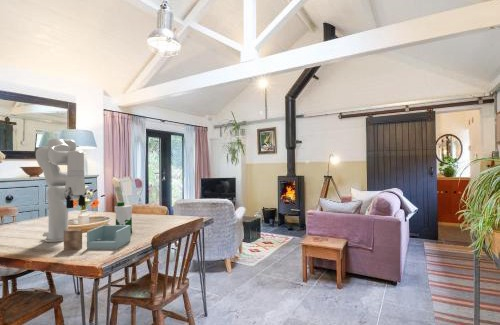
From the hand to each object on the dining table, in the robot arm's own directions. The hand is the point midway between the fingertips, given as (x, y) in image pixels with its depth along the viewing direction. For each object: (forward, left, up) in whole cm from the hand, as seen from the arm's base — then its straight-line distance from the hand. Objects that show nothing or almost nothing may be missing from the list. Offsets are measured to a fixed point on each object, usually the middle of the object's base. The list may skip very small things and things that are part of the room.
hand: (76, 206), depth 141 cm
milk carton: (+11, +29, -22) cm, 38 cm away
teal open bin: (+14, +7, -22) cm, 27 cm away
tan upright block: (-1, -1, -22) cm, 22 cm away
